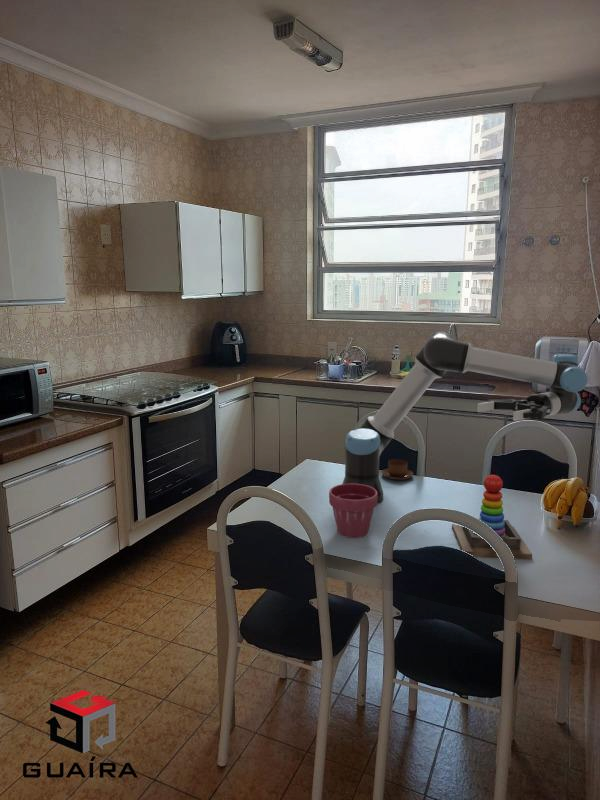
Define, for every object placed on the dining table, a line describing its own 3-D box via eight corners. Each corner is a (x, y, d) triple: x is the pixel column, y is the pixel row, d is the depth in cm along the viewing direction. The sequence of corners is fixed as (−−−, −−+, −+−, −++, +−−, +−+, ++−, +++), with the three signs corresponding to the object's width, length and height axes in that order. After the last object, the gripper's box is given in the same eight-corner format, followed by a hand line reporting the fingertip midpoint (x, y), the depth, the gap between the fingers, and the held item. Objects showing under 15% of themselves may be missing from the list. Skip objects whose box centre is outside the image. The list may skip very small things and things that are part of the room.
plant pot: (320, 534, 163) (320, 493, 161) (342, 518, 175) (342, 480, 173) (364, 546, 156) (365, 503, 153) (384, 528, 168) (385, 488, 165)
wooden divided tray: (463, 556, 150) (464, 540, 149) (451, 528, 168) (452, 514, 167) (531, 559, 148) (533, 543, 147) (513, 531, 166) (514, 517, 165)
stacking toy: (506, 535, 159) (511, 473, 156) (504, 546, 152) (509, 482, 149) (478, 530, 163) (482, 469, 159) (474, 541, 155) (478, 478, 152)
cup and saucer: (386, 470, 223) (387, 455, 222) (416, 474, 218) (417, 459, 217) (377, 479, 212) (378, 464, 211) (408, 484, 207) (409, 468, 206)
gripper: (576, 424, 167) (529, 432, 157) (509, 409, 188) (464, 416, 178) (579, 400, 166) (531, 407, 155) (510, 387, 187) (465, 393, 177)
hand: (495, 411), depth 167 cm, fingers open, 13 cm apart
